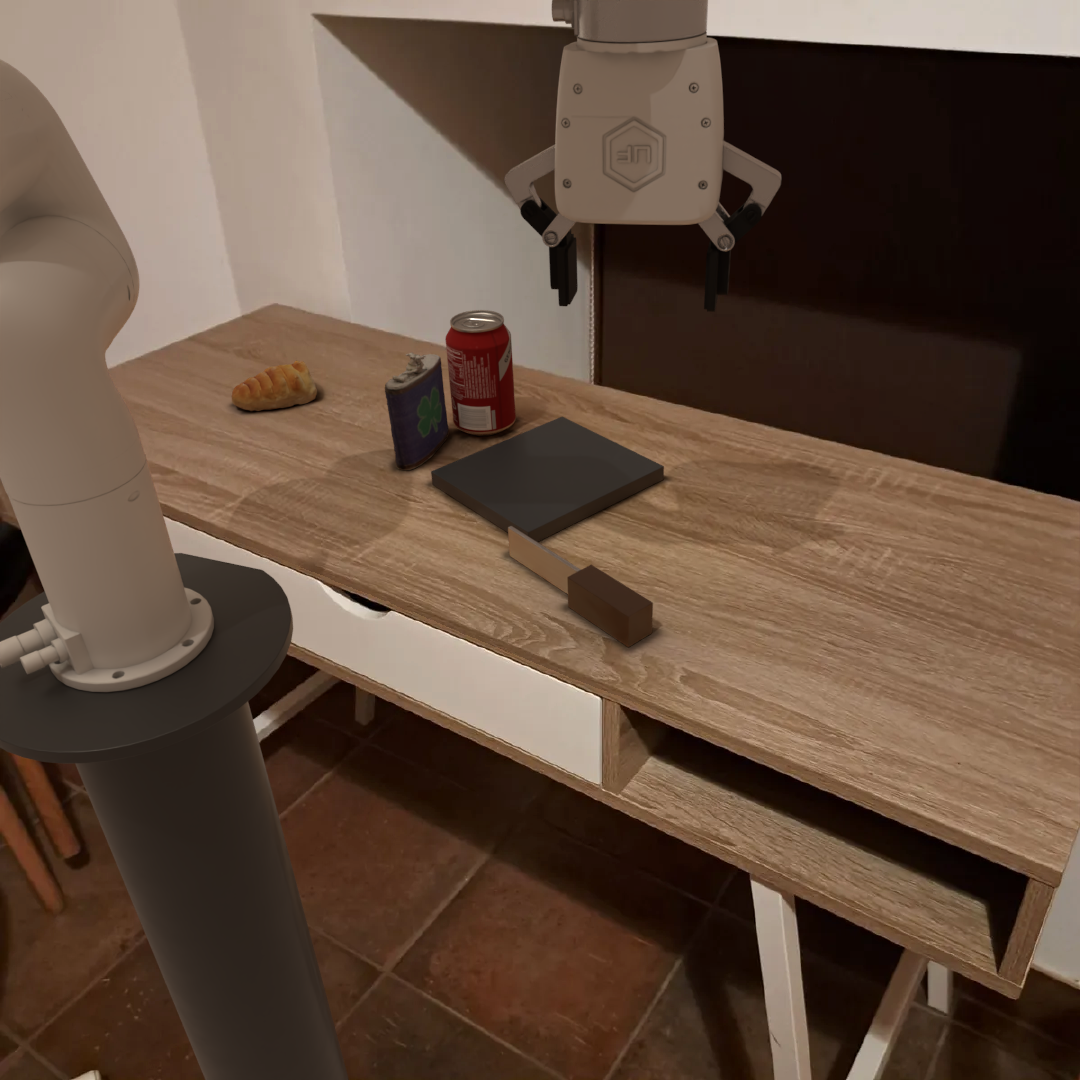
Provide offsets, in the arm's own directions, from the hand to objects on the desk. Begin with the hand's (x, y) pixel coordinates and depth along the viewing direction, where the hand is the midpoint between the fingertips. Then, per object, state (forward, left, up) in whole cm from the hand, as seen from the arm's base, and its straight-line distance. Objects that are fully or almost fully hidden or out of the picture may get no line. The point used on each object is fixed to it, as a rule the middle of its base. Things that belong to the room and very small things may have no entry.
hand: (638, 301), depth 68 cm
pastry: (-2, +56, -26) cm, 62 cm away
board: (+8, +20, -26) cm, 33 cm away
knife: (-3, +4, -26) cm, 26 cm away
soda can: (+11, +34, -26) cm, 44 cm away
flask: (+3, +34, -26) cm, 43 cm away
